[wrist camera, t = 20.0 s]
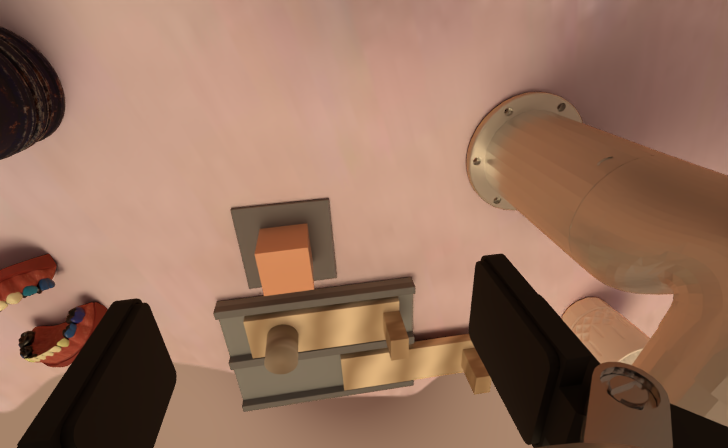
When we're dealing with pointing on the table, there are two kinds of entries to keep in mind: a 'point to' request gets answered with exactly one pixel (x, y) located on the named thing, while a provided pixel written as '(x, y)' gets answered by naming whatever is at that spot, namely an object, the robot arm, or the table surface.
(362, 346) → the lane board
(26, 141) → the storage jar
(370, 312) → the strip near
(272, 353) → the brown post
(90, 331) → the teeth model
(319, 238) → the mat
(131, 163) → the table surface
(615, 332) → the white cup
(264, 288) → the cube
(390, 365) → the strip far
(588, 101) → the table surface
